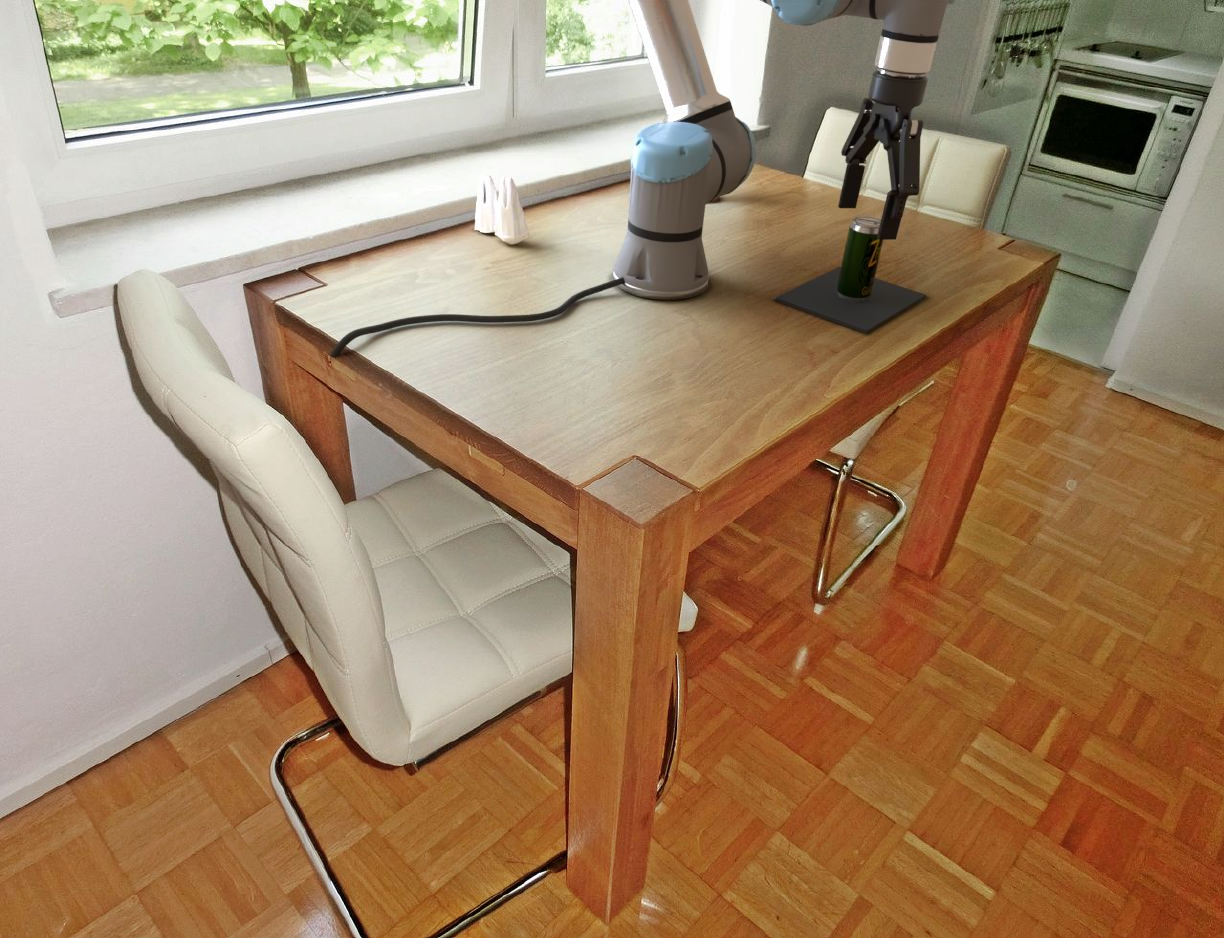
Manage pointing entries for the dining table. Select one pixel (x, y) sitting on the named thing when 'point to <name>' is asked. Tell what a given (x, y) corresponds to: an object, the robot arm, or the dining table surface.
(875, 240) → the beer can
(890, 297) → the place mat
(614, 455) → the dining table surface
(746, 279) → the dining table surface
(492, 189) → the shaker set
